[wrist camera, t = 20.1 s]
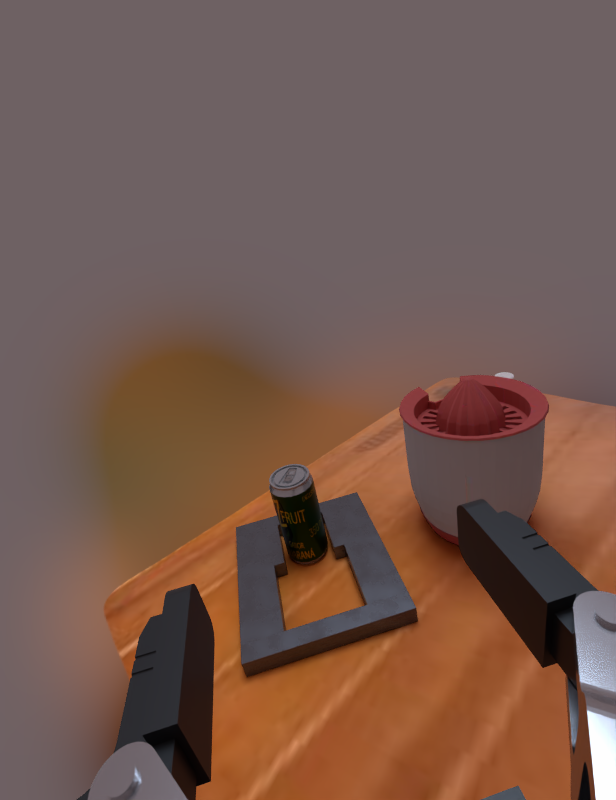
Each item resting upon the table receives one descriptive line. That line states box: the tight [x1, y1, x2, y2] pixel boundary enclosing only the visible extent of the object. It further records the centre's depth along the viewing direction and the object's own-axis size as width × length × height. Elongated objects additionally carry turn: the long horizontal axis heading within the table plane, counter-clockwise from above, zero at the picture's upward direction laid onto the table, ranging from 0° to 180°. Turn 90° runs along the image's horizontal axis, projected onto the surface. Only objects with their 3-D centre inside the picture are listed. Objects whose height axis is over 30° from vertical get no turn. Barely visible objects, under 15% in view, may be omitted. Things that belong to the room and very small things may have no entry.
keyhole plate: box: [236, 492, 418, 677], centre depth 49 cm, size 20×18×2 cm
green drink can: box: [269, 464, 328, 565], centre depth 51 cm, size 5×5×12 cm
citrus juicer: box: [399, 375, 549, 545], centre depth 49 cm, size 16×17×20 cm
